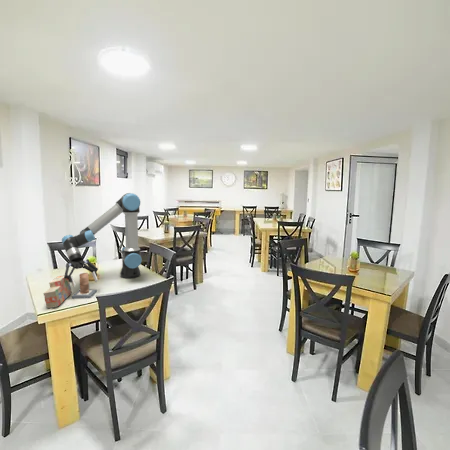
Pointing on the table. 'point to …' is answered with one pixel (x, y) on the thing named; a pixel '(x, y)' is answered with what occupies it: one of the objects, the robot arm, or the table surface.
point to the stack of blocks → (57, 291)
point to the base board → (87, 295)
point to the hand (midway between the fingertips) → (86, 283)
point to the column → (84, 283)
